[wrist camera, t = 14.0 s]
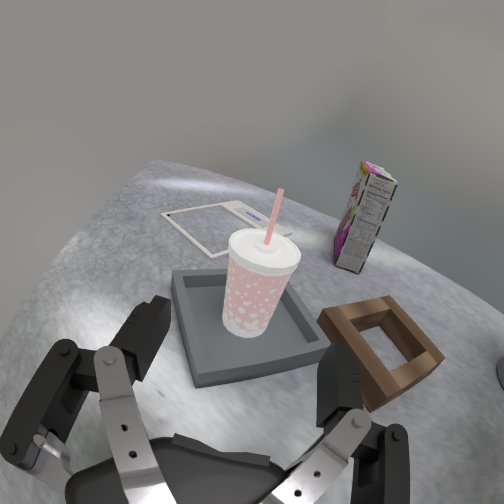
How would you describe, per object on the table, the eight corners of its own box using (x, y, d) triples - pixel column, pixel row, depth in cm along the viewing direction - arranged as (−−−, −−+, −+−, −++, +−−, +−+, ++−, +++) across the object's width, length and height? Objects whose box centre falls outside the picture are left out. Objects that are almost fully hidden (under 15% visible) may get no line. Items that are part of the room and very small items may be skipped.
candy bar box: (332, 237, 52) (360, 159, 43) (355, 245, 51) (385, 168, 43) (331, 266, 42) (369, 169, 34) (359, 275, 41) (400, 182, 33)
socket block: (379, 311, 34) (389, 295, 33) (431, 373, 25) (445, 357, 24) (313, 327, 29) (323, 308, 28) (370, 412, 20) (387, 397, 19)
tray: (272, 281, 35) (277, 266, 34) (322, 360, 25) (332, 345, 24) (171, 288, 30) (172, 270, 29) (195, 388, 20) (197, 373, 19)
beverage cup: (262, 353, 24) (313, 215, 17) (203, 326, 25) (227, 185, 18) (280, 314, 29) (324, 193, 22) (230, 293, 30) (257, 171, 23)
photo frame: (292, 231, 48) (211, 257, 36) (290, 237, 49) (210, 263, 36) (238, 199, 56) (160, 212, 44) (237, 204, 56) (160, 218, 44)
